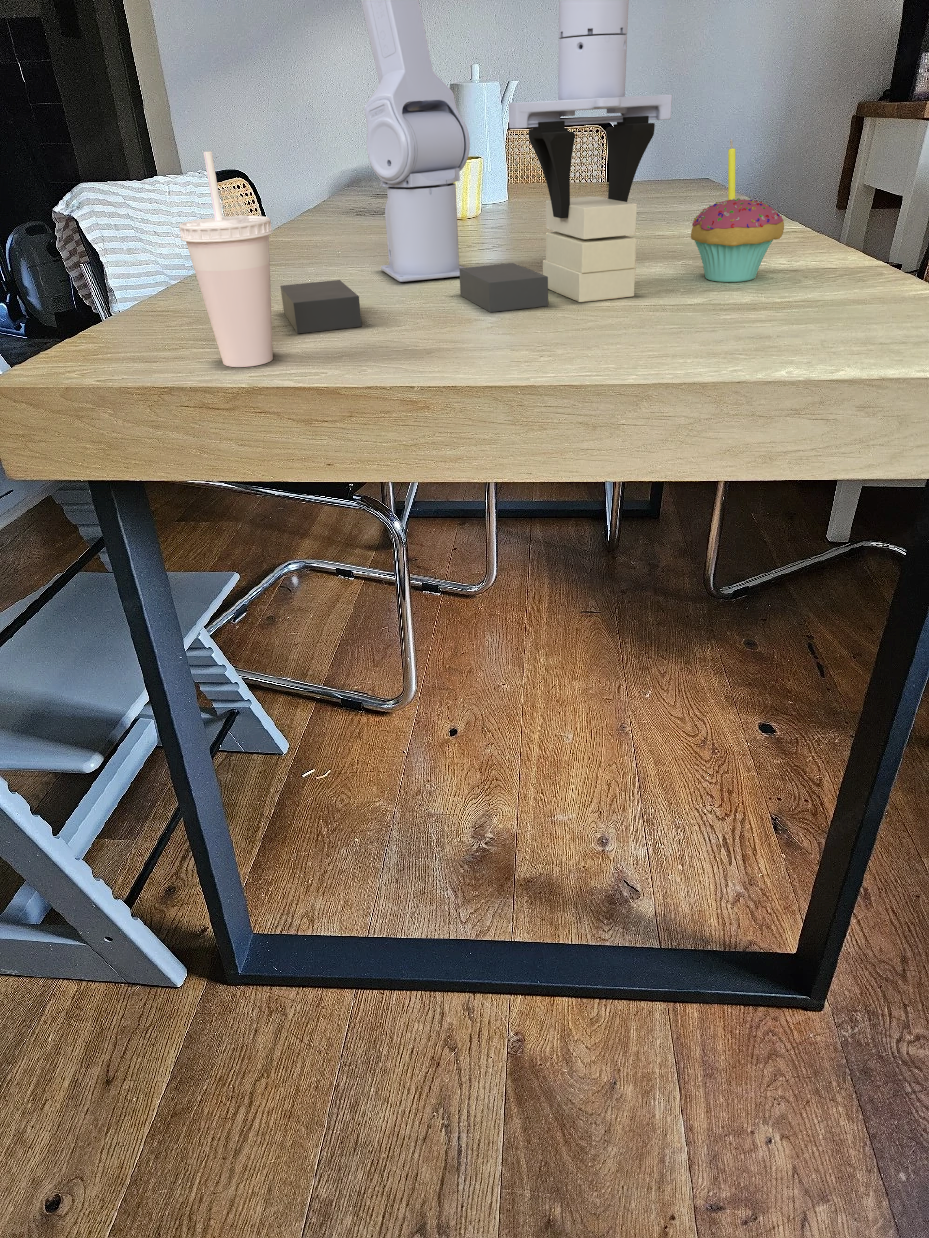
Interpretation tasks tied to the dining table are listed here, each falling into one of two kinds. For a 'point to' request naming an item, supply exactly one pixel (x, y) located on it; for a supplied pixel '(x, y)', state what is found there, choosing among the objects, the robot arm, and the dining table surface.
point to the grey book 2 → (503, 287)
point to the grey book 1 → (321, 306)
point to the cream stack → (590, 266)
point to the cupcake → (735, 233)
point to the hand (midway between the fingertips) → (588, 215)
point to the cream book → (594, 218)
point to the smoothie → (233, 278)
